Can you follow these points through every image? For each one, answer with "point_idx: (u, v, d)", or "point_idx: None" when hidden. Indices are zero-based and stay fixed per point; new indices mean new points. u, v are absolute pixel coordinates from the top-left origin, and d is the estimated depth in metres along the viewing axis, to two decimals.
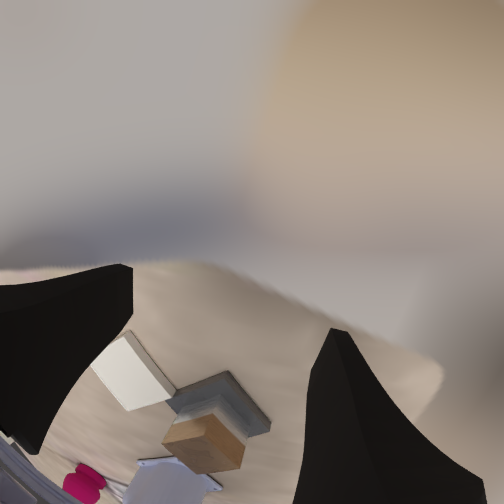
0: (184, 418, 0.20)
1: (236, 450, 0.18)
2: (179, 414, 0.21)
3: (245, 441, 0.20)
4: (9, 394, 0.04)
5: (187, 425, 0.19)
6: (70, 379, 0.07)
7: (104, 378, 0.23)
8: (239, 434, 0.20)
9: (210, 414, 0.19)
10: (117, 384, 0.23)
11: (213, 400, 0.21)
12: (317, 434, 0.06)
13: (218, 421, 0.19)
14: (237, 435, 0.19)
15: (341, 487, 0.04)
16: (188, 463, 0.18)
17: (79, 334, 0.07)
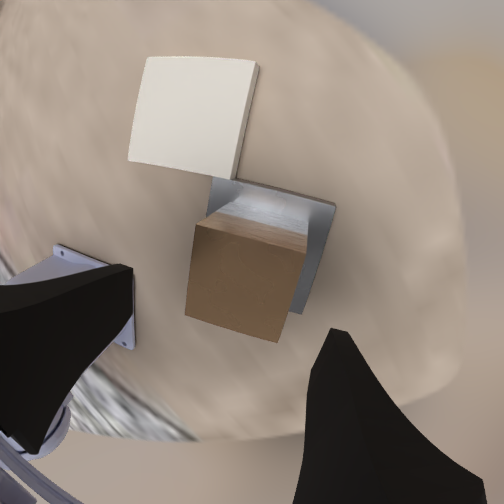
0: (242, 215, 0.14)
1: None
2: (228, 207, 0.15)
3: None
4: (9, 394, 0.04)
5: (255, 226, 0.13)
6: (70, 379, 0.07)
7: (148, 94, 0.14)
8: None
9: (301, 233, 0.13)
10: (159, 113, 0.15)
11: (298, 222, 0.15)
12: (316, 433, 0.06)
13: None
14: None
15: (341, 487, 0.04)
16: (199, 287, 0.12)
17: (79, 334, 0.07)
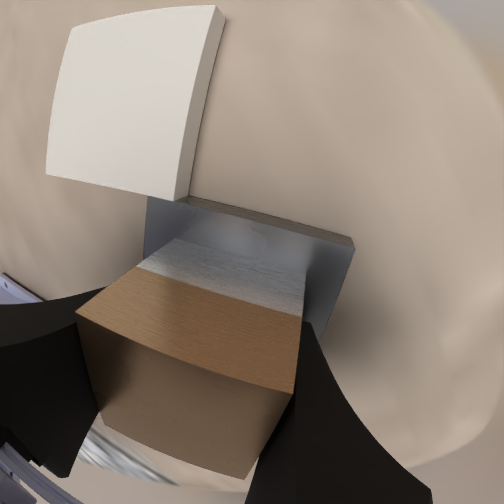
0: (182, 272, 0.07)
1: None
2: (165, 252, 0.08)
3: None
4: (40, 422, 0.04)
5: (198, 304, 0.06)
6: None
7: (67, 78, 0.08)
8: None
9: (290, 314, 0.07)
10: (78, 102, 0.08)
11: (288, 279, 0.08)
12: None
13: None
14: None
15: (274, 479, 0.04)
16: (110, 402, 0.06)
17: None
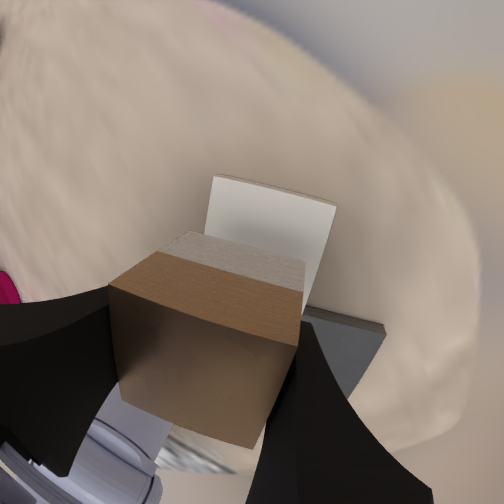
0: (199, 256, 0.09)
1: None
2: (182, 240, 0.10)
3: None
4: (39, 421, 0.04)
5: (214, 280, 0.07)
6: (100, 397, 0.07)
7: (218, 222, 0.16)
8: None
9: (293, 290, 0.08)
10: None
11: (290, 264, 0.10)
12: (272, 424, 0.06)
13: None
14: None
15: (275, 479, 0.04)
16: (130, 373, 0.07)
17: (111, 351, 0.07)
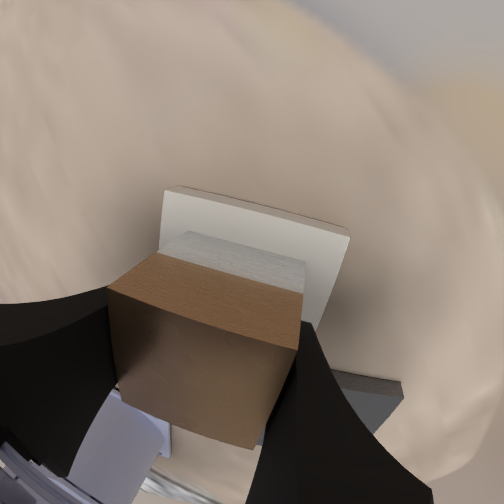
0: (198, 257, 0.09)
1: None
2: (181, 241, 0.09)
3: None
4: (39, 421, 0.04)
5: (214, 282, 0.07)
6: (100, 397, 0.07)
7: None
8: None
9: (293, 291, 0.08)
10: None
11: (290, 265, 0.09)
12: (272, 425, 0.06)
13: None
14: None
15: (275, 479, 0.04)
16: (130, 375, 0.07)
17: (111, 351, 0.07)
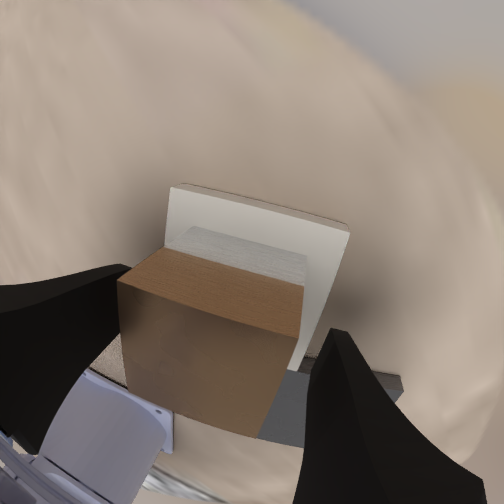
0: (203, 252, 0.09)
1: None
2: (186, 236, 0.10)
3: None
4: (9, 394, 0.04)
5: (219, 275, 0.08)
6: (70, 379, 0.07)
7: None
8: None
9: (294, 284, 0.08)
10: None
11: (292, 259, 0.10)
12: (317, 433, 0.06)
13: None
14: None
15: (341, 487, 0.04)
16: (138, 366, 0.07)
17: (79, 334, 0.07)
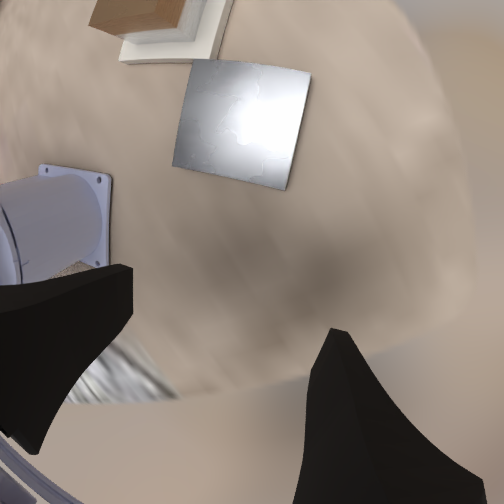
0: None
1: (171, 7, 0.10)
2: None
3: (181, 28, 0.11)
4: (9, 394, 0.04)
5: None
6: (70, 379, 0.07)
7: None
8: (186, 16, 0.11)
9: None
10: None
11: None
12: (317, 434, 0.06)
13: None
14: (184, 12, 0.11)
15: (341, 487, 0.04)
16: None
17: (79, 334, 0.07)
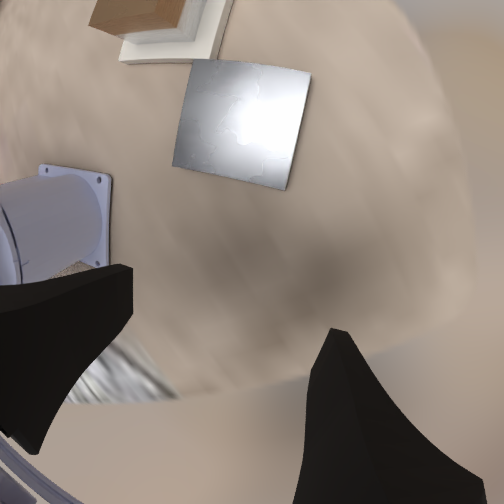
0: None
1: (171, 7, 0.10)
2: None
3: (181, 28, 0.11)
4: (9, 394, 0.04)
5: None
6: (70, 379, 0.07)
7: None
8: (186, 16, 0.11)
9: None
10: None
11: None
12: (317, 434, 0.06)
13: None
14: (184, 12, 0.11)
15: (341, 487, 0.04)
16: None
17: (79, 334, 0.07)
